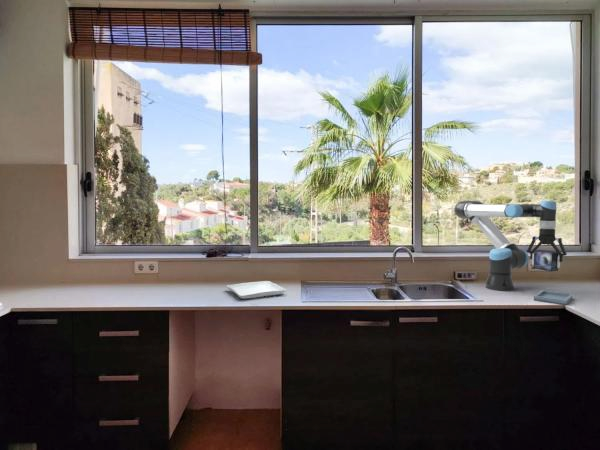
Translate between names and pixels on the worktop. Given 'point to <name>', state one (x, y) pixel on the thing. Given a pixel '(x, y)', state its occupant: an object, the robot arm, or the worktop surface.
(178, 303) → the worktop surface
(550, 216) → the robot arm
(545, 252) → the small box
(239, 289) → the square plate
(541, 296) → the tray
